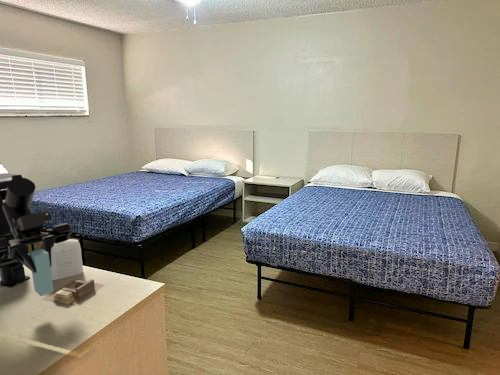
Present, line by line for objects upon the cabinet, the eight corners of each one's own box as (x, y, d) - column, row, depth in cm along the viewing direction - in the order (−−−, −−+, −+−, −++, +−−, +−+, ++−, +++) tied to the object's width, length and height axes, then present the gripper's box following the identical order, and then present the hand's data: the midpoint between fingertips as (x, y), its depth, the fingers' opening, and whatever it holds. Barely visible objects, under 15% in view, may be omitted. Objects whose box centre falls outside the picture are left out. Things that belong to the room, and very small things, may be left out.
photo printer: (82, 270, 115) (78, 235, 112) (84, 275, 111) (80, 239, 109) (46, 278, 109) (41, 241, 107) (47, 284, 106) (42, 246, 103)
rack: (42, 301, 96) (40, 289, 95) (76, 281, 107) (74, 270, 106) (73, 308, 93) (72, 295, 92) (105, 287, 104) (104, 275, 103)
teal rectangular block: (34, 290, 88) (28, 252, 86) (47, 286, 90) (42, 248, 88) (40, 296, 85) (34, 256, 83) (53, 291, 88) (48, 252, 85)
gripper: (-22, 208, 78) (1, 267, 74) (65, 193, 92) (89, 242, 88) (-25, 233, 85) (-4, 289, 80) (56, 216, 99) (78, 262, 94)
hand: (42, 269), depth 85 cm, fingers closed on teal rectangular block, 3 cm apart
